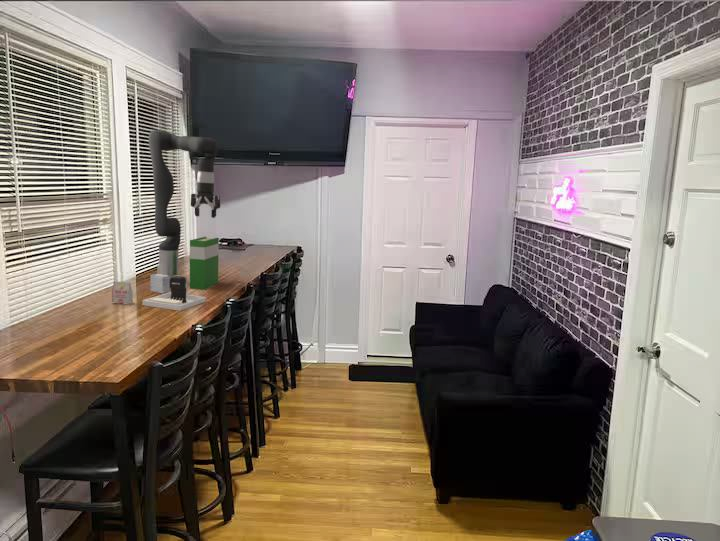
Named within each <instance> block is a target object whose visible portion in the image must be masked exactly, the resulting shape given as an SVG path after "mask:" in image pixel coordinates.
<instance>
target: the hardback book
mask: <svg viewBox="0 0 720 541" xmlns="http://www.w3.org/2000/svg"><path fill="white" fill-rule="evenodd" d="M219 244H220V243H219V237H213V238H210V237H209V238H208V237H207V236H202V237H198V238H194V239H190V240H189V289H192V290H201V291H202V290H203V291H204V290H207V289H209V288H211V287H213V286H216V285H217V284H219V250H220V248H219Z"/></svg>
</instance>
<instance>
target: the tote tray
mask: <svg viewBox="0 0 720 541" xmlns="http://www.w3.org/2000/svg"><path fill="white" fill-rule="evenodd" d="M154 298H164V299H171V291H170V292H169V293H162V294H159V295H156V296H153V297H149V298H146V299H143V300H142V306H144V305H145V307H152V308H157V309H158V308H159V309H165V310H171V311H172V310H174V311H179V312H180V311H184V310H187V309H190V308H192V307H194V306H197V305H200V304H203V303H206V301H207V296H200V295H193V294H187V302H184V303H182V305H174V304H168V303H161V302H154V301H151V299H154Z"/></svg>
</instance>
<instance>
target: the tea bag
mask: <svg viewBox="0 0 720 541" xmlns="http://www.w3.org/2000/svg"><path fill="white" fill-rule="evenodd" d="M111 290H112V291H111V303H112V302H118V303H126V304H129V303H130V302H133V303H134V300H133V299H134V295H133V293H134V292H133V288H132V285H131V282H129V281H113V285H112V289H111ZM129 305H130V304H129Z"/></svg>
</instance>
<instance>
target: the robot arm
mask: <svg viewBox="0 0 720 541" xmlns="http://www.w3.org/2000/svg"><path fill="white" fill-rule="evenodd" d="M148 145H149V146H148V148H149V152H150V158H151V163H152V165H151V166H152V173H153V174H152V181H153V190H154V191H153V192H154V206H155V208H154V209H155V210H154V227H155V228H154V229H155V232H156V234H157V235H158V236H159V237H161V238H162V237H166V238H165V239H164V241H162V242H160V243H159V245H158V264H157V265H156V266H157V267H156V268H157V270H156V271H157V273H156V274H162V275H167V276H170V278H171V277H172V276H174V275H178V276H180V275H179V273H180V272H179V271H180V270H179V268H180V267H179V256H180V255H179V251H180V249H179V246H180V244H181V234H182V233H181V232H182V231H181V230H182V229H181V228H182V227H181V222H180V220H179V218H177V217H168V206H169V204H170V202H171V199H172V197H174V196H173V195H174V191H175V185H174V184H175V183H174V177H173V174H172V172H171V171H170V169H169V168H168V166H167V165H166V162H165V160H164V157H163V152H167V151H176V150H177V151H178V150H180V151H184V152H192V153H198V154H199V153H200V154H205V155H204V157H203V158H199V159H198V160H197V175H196V176H197V177H196V191H197V193H191V195H190V207H193V208H194V216H195V217H200V207H201V206H202V205H208V206H209V207H210V208H211V216H210V217H211V219H213V218H214V219H215V218H216V217H217V210H219V209H221V196H220V195H214V193H215V175H214V173H215V172H214V168H215V167H214V166H215V165H214V164H215V161H216V157H217V153H218V148H219V145H218V143H217V141H216V139H214V138H211V137H203V136H192V135H181V136H179V135H176V134H174V133H171V132H168V131H161V130H155V129H154V130H151V131H150V132H149V135H148Z"/></svg>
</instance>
